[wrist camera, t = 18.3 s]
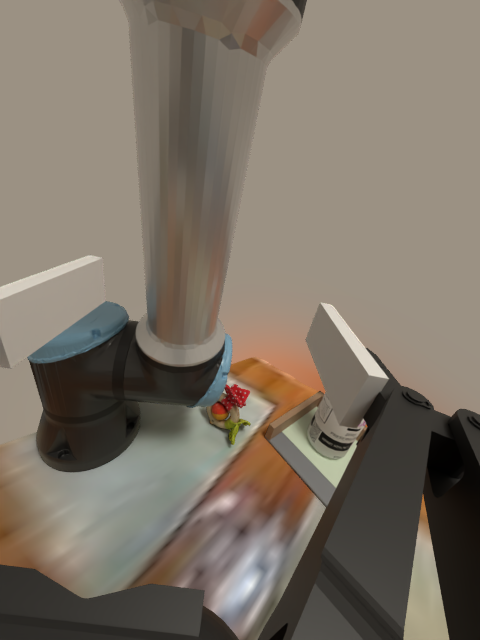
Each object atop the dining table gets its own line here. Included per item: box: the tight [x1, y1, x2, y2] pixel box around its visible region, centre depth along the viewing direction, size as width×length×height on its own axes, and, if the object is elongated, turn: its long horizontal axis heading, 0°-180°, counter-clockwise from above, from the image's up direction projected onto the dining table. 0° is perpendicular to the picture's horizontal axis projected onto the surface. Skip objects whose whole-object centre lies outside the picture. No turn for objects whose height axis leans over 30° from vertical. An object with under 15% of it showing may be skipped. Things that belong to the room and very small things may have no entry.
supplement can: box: [307, 392, 366, 459], centre depth 45 cm, size 8×8×15 cm
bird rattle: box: [206, 384, 250, 445], centre depth 45 cm, size 6×11×9 cm
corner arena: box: [265, 391, 367, 507], centre depth 46 cm, size 18×18×4 cm
